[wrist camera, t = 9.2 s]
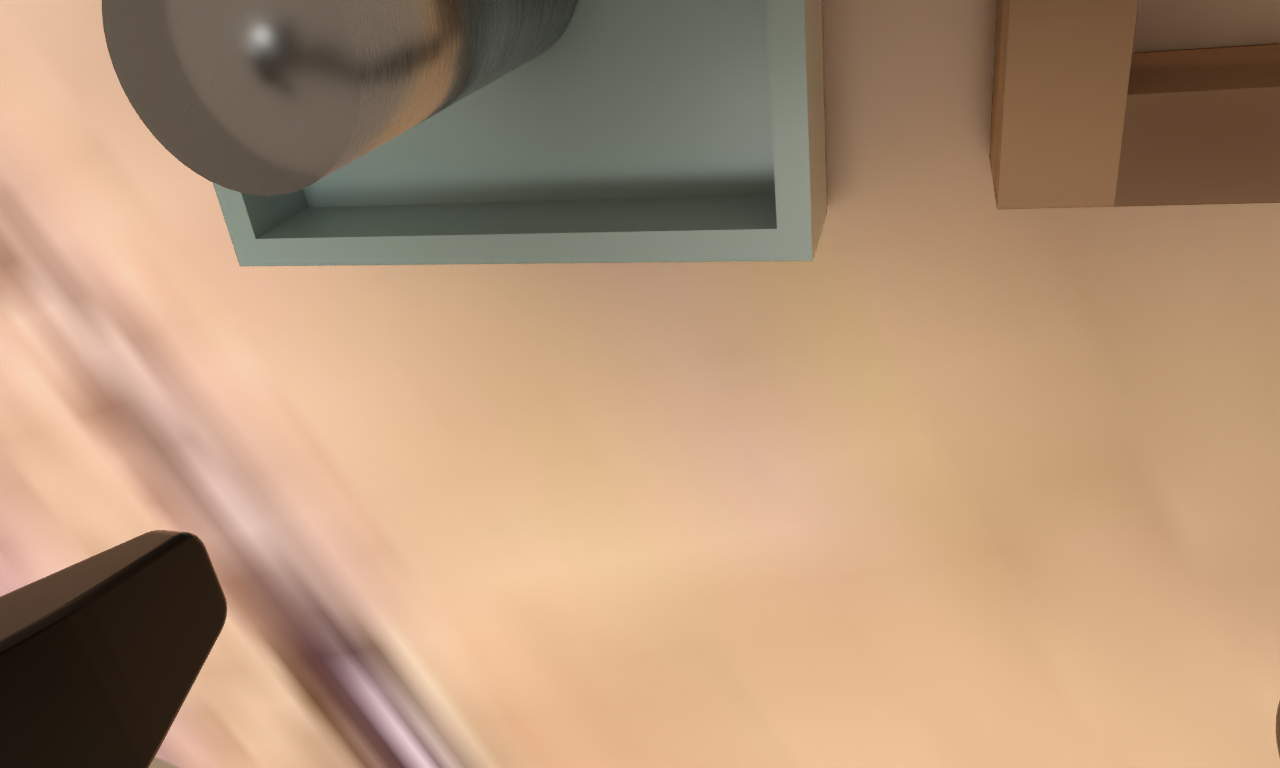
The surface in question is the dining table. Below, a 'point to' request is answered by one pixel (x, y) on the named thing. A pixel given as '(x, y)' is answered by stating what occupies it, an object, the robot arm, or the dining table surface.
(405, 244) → the tray
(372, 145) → the pin
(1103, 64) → the socket block
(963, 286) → the dining table surface
